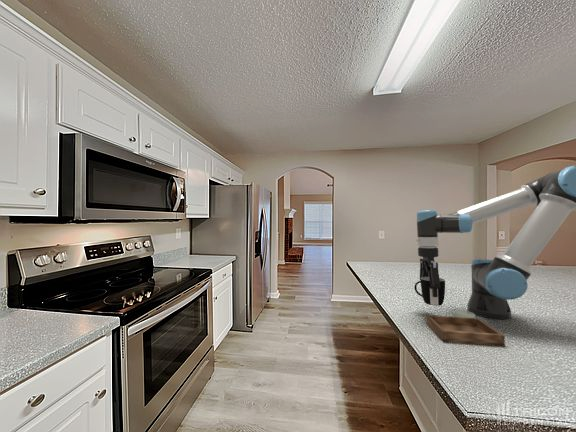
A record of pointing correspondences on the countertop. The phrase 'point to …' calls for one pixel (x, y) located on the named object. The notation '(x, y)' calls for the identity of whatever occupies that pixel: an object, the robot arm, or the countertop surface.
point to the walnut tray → (464, 330)
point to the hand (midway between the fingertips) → (429, 301)
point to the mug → (426, 291)
